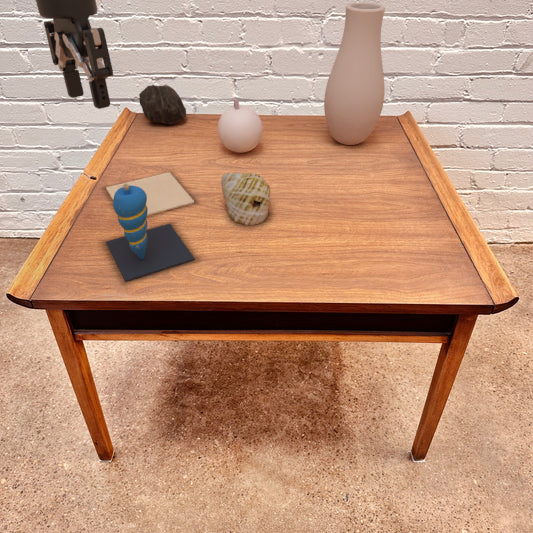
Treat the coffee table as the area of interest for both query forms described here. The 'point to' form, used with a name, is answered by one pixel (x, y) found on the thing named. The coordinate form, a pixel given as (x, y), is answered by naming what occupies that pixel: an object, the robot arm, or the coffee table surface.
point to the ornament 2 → (240, 128)
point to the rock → (162, 104)
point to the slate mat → (150, 253)
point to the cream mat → (159, 192)
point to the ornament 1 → (132, 216)
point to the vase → (356, 76)
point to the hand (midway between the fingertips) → (89, 101)
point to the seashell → (246, 197)
